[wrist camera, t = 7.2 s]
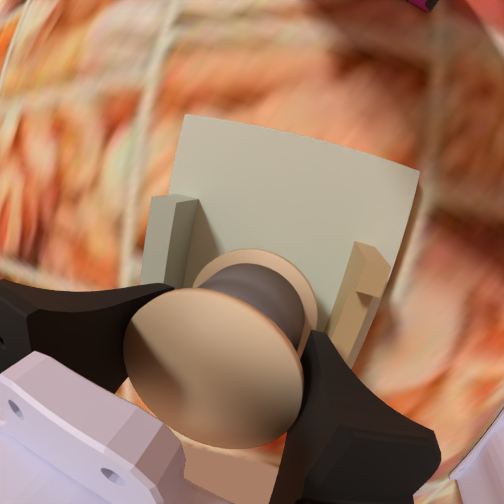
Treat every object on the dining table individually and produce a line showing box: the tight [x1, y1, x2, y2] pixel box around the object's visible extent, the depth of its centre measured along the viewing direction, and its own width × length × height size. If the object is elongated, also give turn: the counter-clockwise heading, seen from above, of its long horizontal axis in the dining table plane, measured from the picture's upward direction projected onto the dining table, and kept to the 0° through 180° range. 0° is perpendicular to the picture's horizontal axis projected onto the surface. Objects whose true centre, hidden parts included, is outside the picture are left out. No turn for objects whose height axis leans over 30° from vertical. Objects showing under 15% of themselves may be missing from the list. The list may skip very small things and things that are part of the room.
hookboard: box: [140, 114, 420, 369], centre depth 14 cm, size 14×12×4 cm
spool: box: [123, 248, 318, 449], centre depth 11 cm, size 6×6×6 cm
